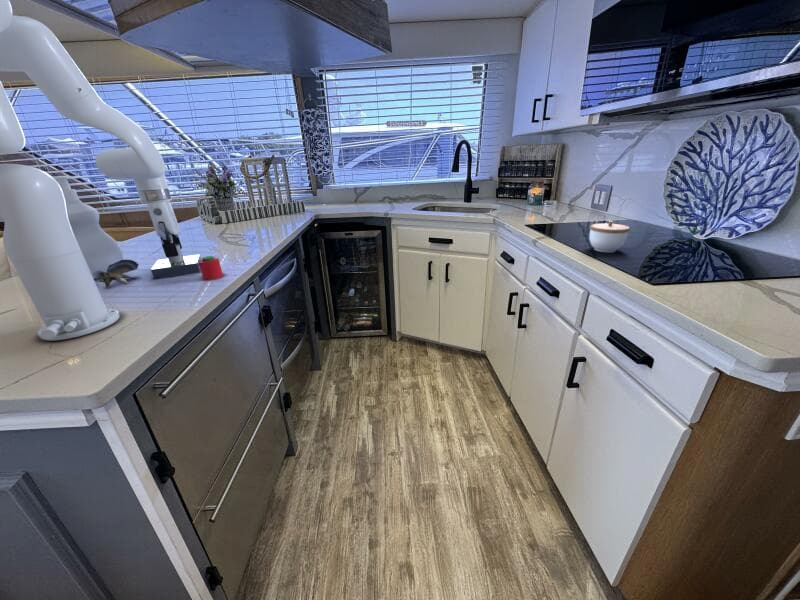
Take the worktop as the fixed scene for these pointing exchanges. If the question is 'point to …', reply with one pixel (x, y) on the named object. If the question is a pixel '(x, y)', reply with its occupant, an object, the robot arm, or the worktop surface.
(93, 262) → the soap bottle
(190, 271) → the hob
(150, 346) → the worktop surface
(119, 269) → the squirrel figurine
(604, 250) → the trinket box
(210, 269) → the strawberry toy
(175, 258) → the knob
